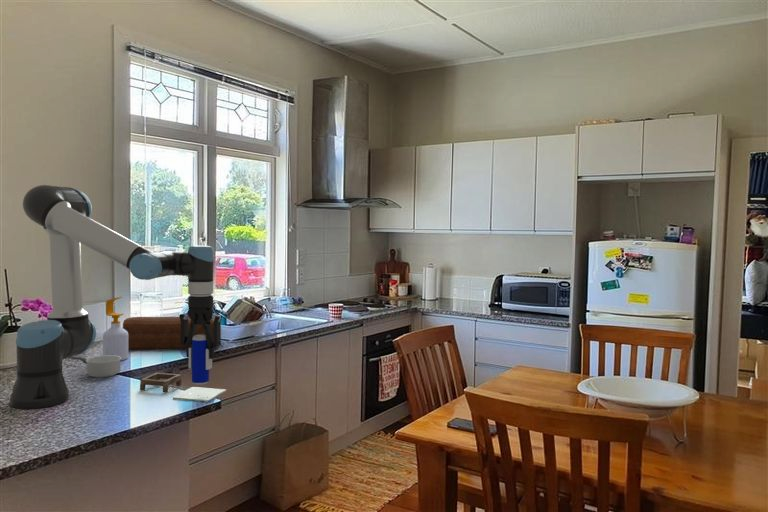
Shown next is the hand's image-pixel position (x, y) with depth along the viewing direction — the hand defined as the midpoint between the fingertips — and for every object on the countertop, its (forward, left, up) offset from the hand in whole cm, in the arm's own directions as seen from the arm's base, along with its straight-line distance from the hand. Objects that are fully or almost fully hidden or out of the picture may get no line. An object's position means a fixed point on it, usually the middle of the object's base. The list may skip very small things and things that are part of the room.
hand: (200, 367), depth 180 cm
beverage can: (0, 0, -5) cm, 5 cm away
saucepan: (+14, +49, -9) cm, 52 cm away
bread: (+63, +47, -9) cm, 79 cm away
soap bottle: (+35, +55, -9) cm, 66 cm away
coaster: (0, 0, -9) cm, 9 cm away
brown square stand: (+4, +16, -9) cm, 19 cm away
